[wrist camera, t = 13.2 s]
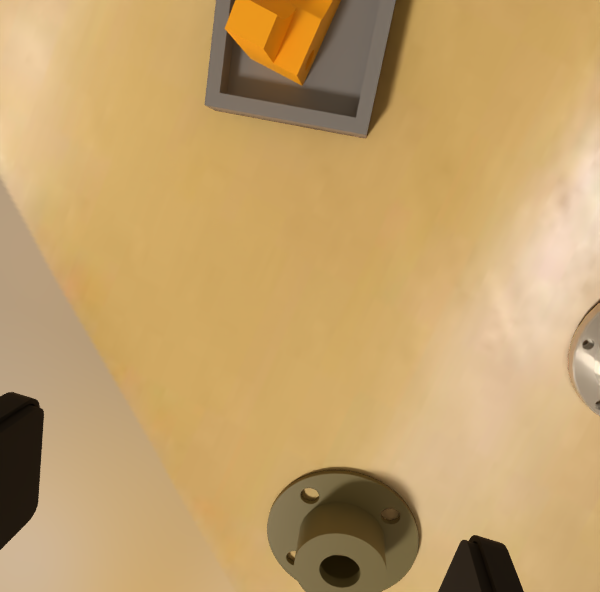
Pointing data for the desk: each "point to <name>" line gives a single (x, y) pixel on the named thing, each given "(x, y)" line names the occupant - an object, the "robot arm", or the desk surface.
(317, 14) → the orange blocky piece
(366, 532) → the flange
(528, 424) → the desk surface
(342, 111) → the parts tray
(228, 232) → the desk surface
